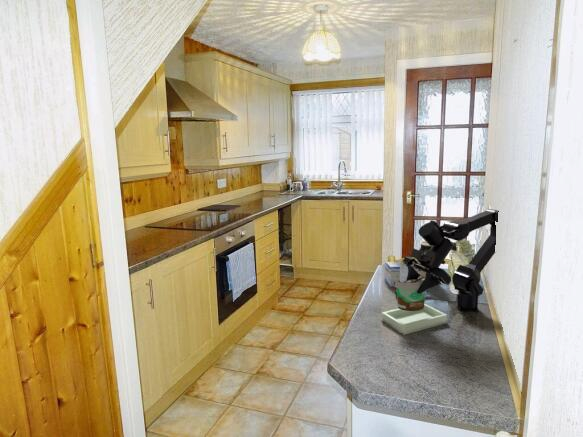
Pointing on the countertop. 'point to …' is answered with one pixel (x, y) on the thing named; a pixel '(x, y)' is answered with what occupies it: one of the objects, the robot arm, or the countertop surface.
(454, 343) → the countertop surface
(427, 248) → the travel mug
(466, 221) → the robot arm
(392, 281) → the medicine box
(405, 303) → the food container
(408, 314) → the tray
